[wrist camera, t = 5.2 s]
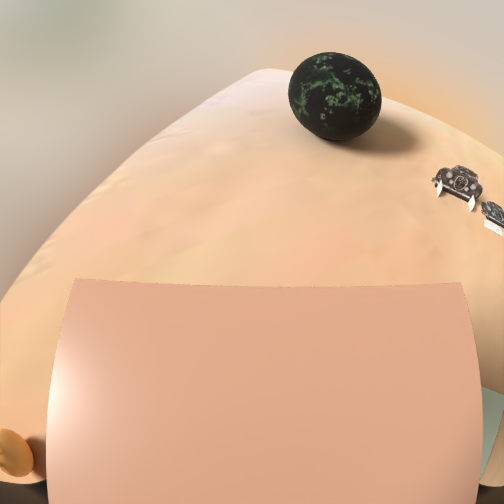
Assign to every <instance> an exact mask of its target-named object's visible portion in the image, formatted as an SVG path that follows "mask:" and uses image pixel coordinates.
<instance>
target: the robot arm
mask: <svg viewBox="0 0 504 504" xmlns="http://www.w3.org/2000/svg"><path fill="white" fill-rule="evenodd" d="M0 504H49V500H48V490H47V479H45V480H43V481H40V482H37V483H32V484H16V483H9V482H3V481H0ZM475 504H504V486H501V487H490V486H485V485H481V484H479V486H478V492H477V498H476V503H475Z"/></svg>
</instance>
